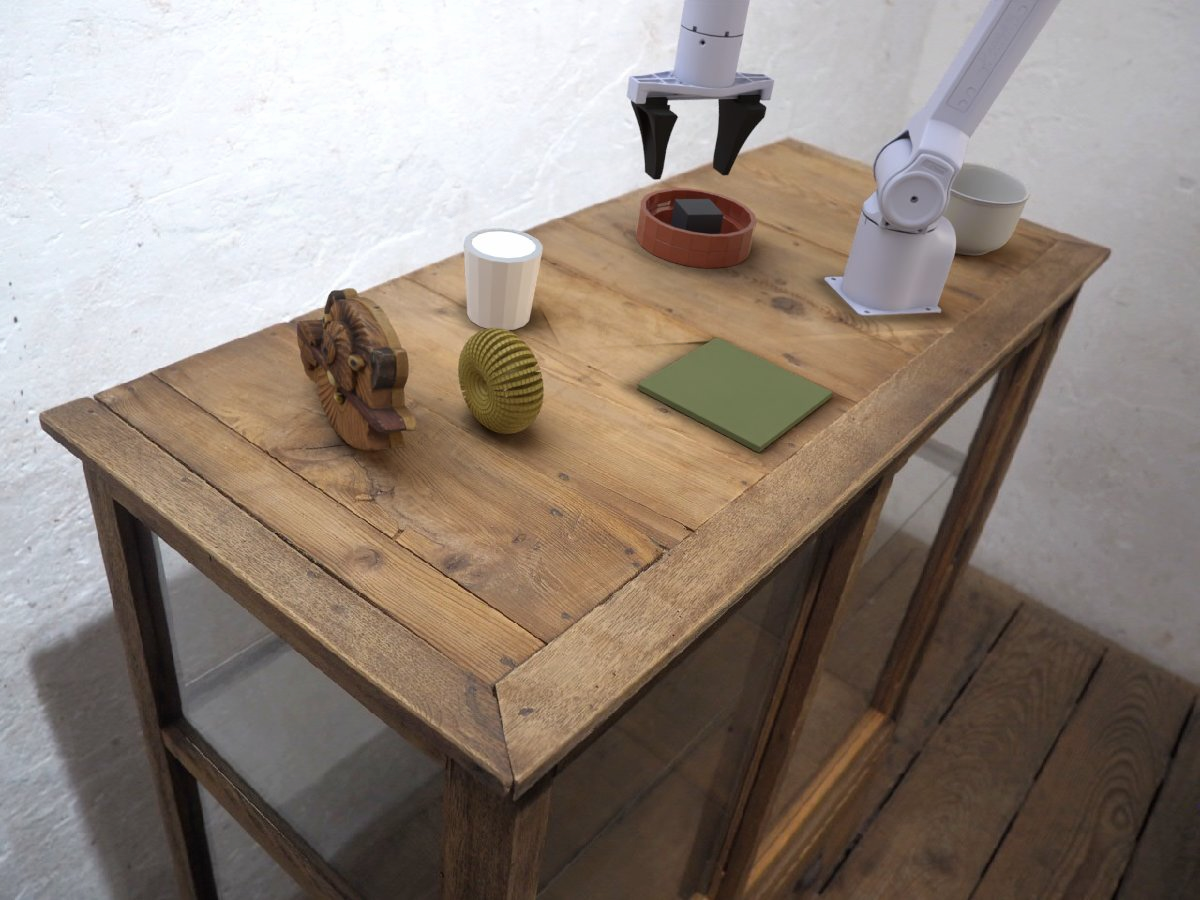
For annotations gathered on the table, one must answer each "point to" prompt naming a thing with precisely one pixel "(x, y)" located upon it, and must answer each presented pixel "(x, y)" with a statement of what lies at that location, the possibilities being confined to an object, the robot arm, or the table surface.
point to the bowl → (693, 245)
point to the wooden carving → (358, 371)
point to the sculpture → (500, 380)
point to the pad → (736, 393)
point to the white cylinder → (501, 277)
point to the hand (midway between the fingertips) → (687, 173)
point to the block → (697, 216)
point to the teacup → (984, 207)
